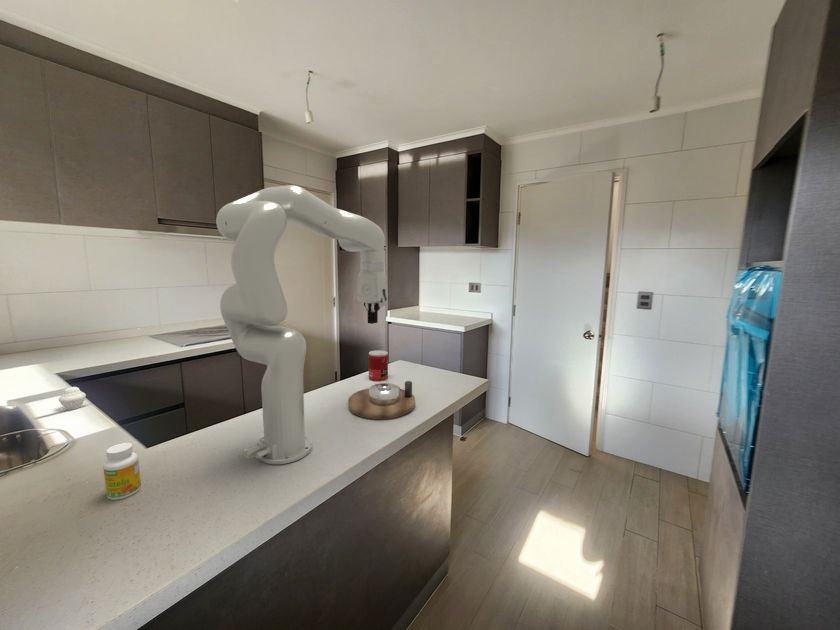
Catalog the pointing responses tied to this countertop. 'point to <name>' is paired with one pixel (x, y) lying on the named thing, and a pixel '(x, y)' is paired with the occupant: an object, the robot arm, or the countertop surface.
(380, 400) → the cover
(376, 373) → the canned food
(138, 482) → the supplement bottle
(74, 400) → the muffin
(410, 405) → the turntable
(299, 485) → the countertop surface
